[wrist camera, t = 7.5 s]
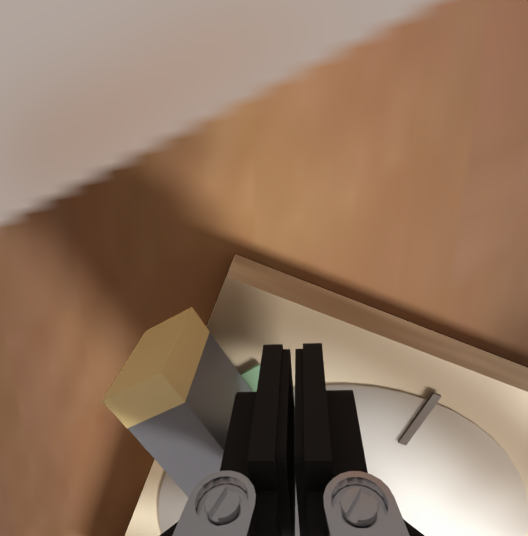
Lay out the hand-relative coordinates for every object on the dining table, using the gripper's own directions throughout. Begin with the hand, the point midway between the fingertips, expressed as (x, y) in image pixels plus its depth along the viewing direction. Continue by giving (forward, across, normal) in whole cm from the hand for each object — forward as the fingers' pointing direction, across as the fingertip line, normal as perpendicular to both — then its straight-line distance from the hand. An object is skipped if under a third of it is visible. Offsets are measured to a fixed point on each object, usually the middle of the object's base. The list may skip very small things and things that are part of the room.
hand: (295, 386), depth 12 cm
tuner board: (+4, -1, +9) cm, 10 cm away
